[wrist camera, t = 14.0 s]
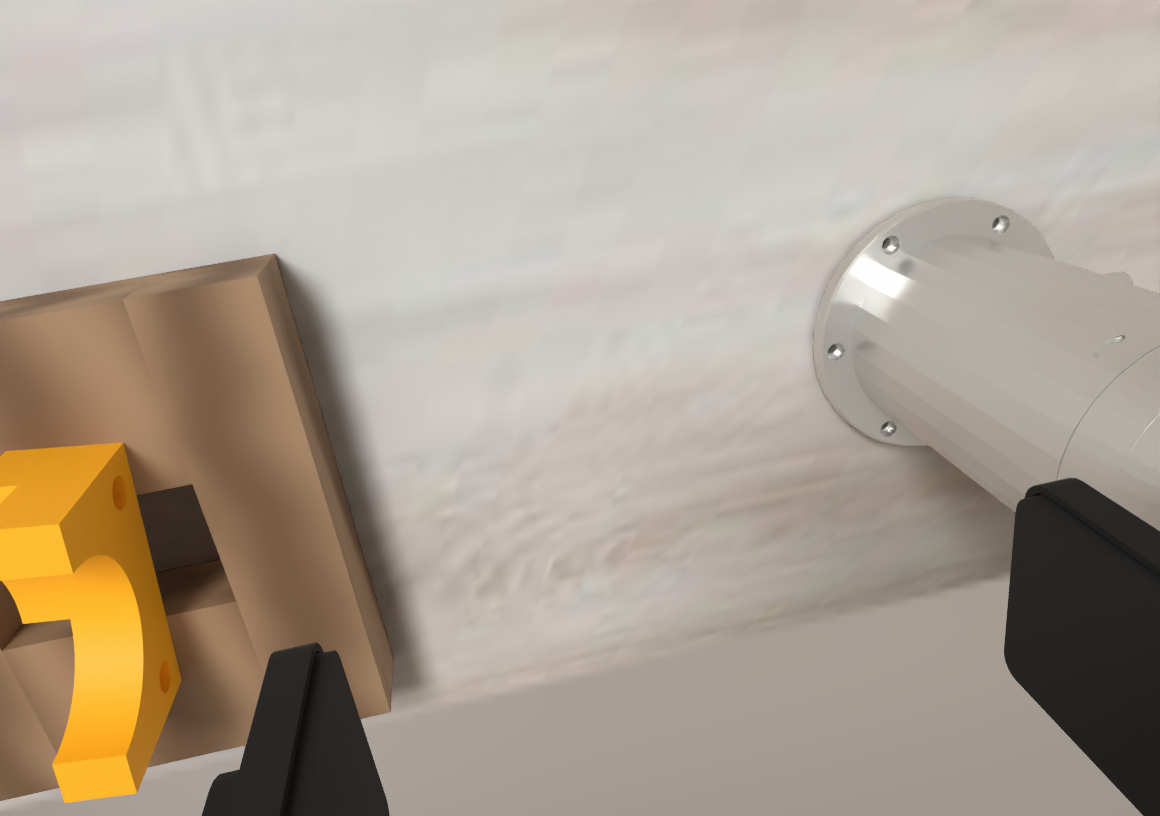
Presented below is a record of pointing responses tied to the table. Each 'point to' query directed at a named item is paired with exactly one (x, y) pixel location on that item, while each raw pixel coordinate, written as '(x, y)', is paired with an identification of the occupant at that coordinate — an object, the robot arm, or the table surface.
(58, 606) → the orange curved block
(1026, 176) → the table surface
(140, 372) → the cutout shelf
